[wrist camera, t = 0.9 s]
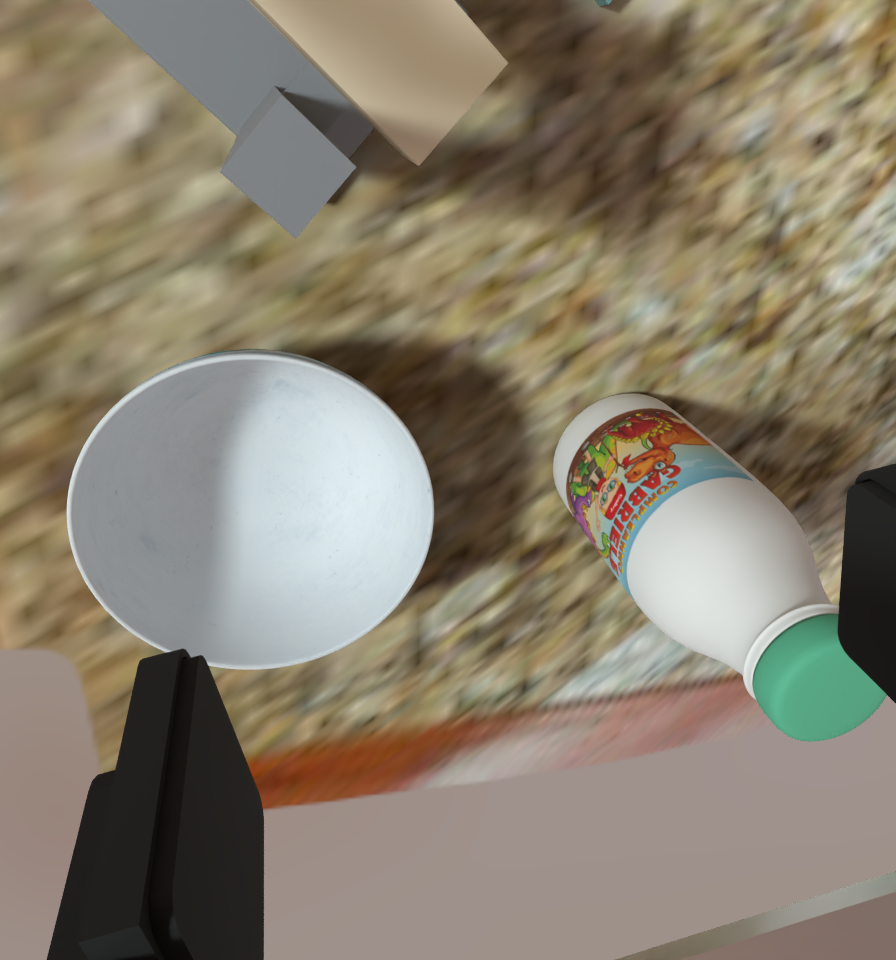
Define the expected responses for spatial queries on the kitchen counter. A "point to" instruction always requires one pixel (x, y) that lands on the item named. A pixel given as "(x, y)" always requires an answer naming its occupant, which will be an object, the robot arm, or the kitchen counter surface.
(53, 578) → the kitchen counter surface
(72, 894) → the robot arm
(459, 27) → the rail
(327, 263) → the kitchen counter surface
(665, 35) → the kitchen counter surface
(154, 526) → the chinaware
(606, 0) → the mat
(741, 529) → the milk bottle
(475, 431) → the kitchen counter surface
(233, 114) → the rack
